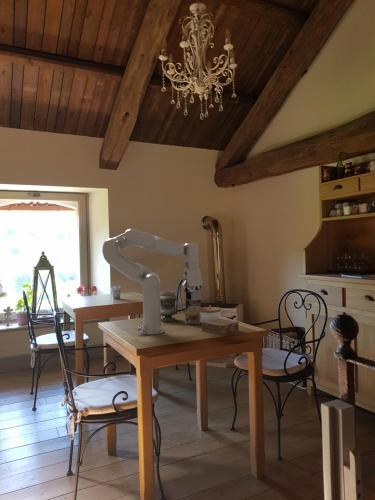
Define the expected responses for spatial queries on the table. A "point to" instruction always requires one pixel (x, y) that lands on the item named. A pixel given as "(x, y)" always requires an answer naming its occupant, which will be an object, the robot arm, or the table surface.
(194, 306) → the coffee box
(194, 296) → the slate block
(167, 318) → the apothecary jar
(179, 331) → the table surface
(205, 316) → the lidded bowl
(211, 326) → the walnut block
